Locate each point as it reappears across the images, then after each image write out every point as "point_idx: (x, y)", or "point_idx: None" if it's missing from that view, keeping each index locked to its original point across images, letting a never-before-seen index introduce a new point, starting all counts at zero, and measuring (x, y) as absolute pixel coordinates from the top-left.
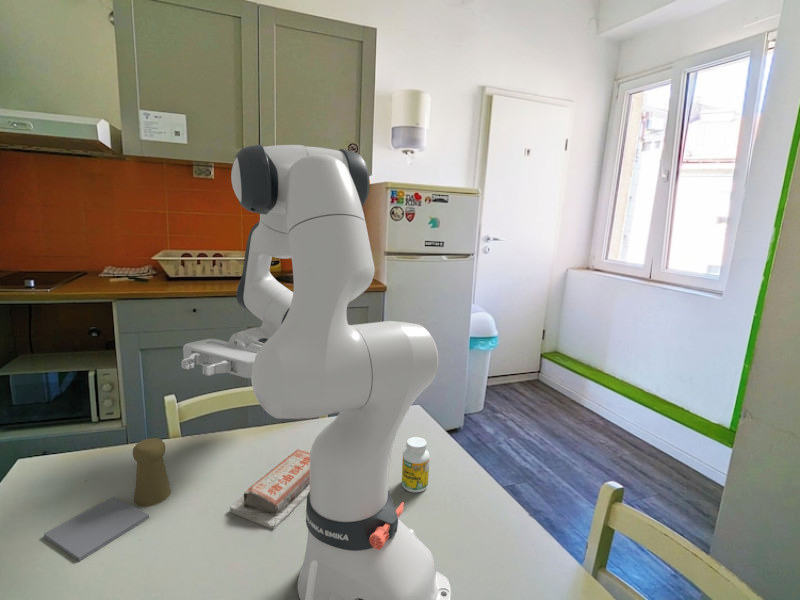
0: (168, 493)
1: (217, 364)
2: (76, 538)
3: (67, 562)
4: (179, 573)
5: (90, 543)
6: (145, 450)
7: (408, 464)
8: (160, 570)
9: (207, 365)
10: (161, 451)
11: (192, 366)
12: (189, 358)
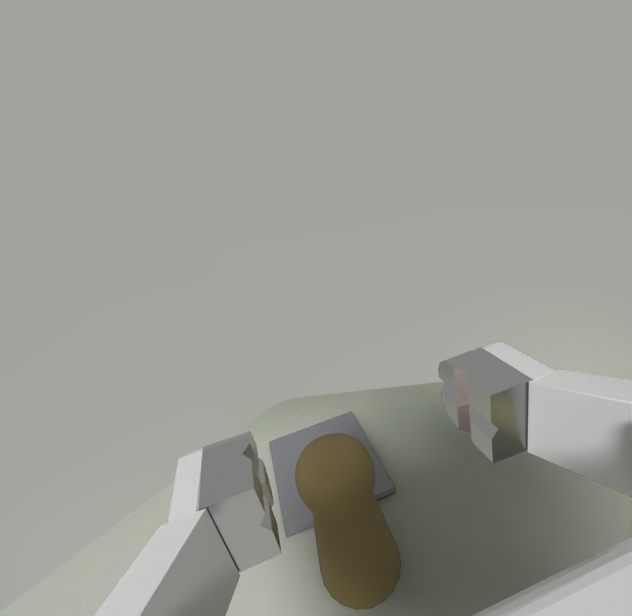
0: (330, 590)
1: (142, 553)
2: (311, 439)
3: (280, 436)
4: (122, 548)
5: (285, 452)
6: (304, 449)
7: None
8: (156, 526)
9: (220, 458)
10: (299, 493)
11: (477, 439)
12: (524, 371)
